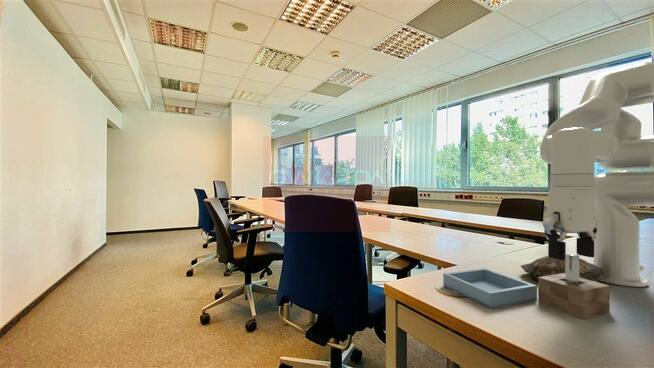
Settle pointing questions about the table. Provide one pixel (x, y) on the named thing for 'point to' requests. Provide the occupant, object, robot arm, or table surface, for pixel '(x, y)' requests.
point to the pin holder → (574, 296)
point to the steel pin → (572, 269)
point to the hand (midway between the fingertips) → (571, 257)
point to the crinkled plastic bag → (560, 268)
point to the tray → (490, 287)
